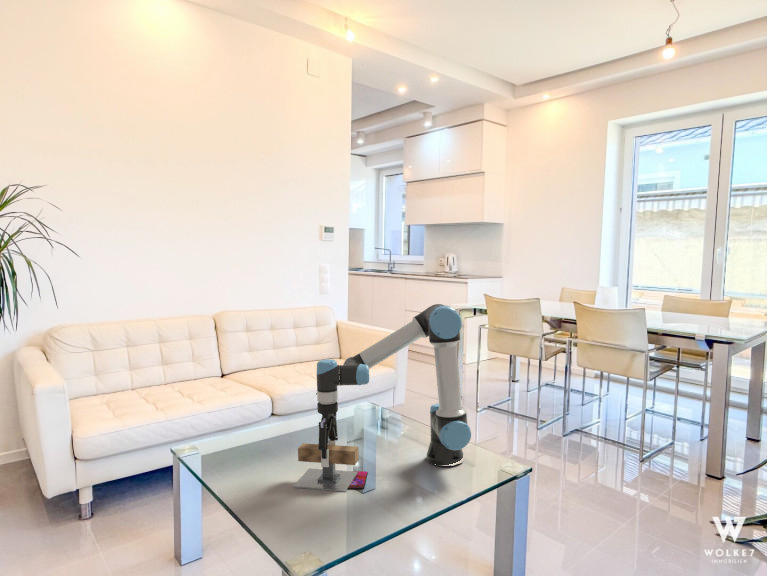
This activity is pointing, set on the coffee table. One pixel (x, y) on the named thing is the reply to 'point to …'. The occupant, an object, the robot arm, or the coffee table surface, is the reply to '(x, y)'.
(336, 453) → the walnut bar
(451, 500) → the coffee table surface
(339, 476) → the stand
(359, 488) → the smartphone
